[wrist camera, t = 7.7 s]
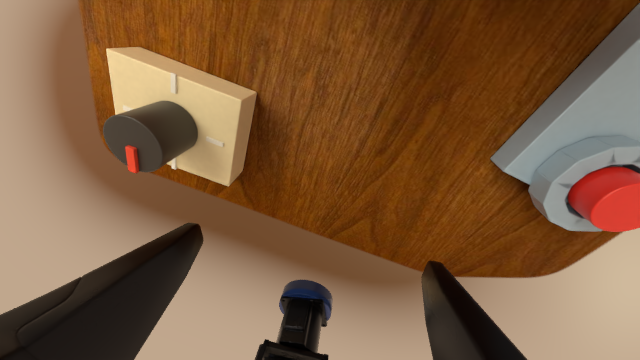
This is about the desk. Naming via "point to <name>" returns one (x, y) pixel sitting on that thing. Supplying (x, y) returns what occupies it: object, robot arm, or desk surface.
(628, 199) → the red push button
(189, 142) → the dial knob
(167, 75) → the dial panel
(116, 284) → the robot arm
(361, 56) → the desk surface
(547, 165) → the button box
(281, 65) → the desk surface
